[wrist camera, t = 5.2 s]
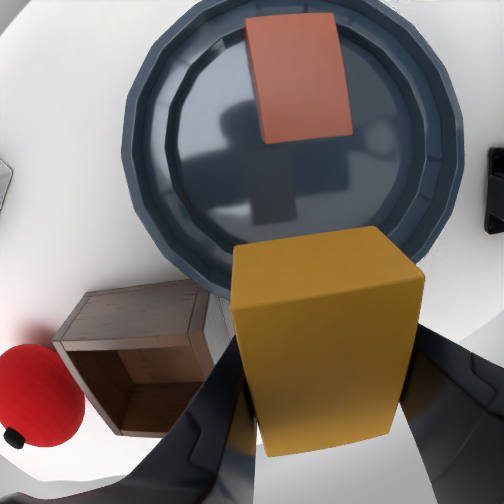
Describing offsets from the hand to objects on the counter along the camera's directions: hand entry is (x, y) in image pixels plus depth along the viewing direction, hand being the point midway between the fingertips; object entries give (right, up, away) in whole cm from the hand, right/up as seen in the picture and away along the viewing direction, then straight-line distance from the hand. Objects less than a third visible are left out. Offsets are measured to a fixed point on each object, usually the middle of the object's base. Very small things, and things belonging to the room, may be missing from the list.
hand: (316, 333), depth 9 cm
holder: (-8, -4, +13) cm, 16 cm away
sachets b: (0, +11, +5) cm, 13 cm away
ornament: (-20, -8, +14) cm, 26 cm away
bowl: (+1, +8, +7) cm, 11 cm away
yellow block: (0, 0, 0) cm, 0 cm away
